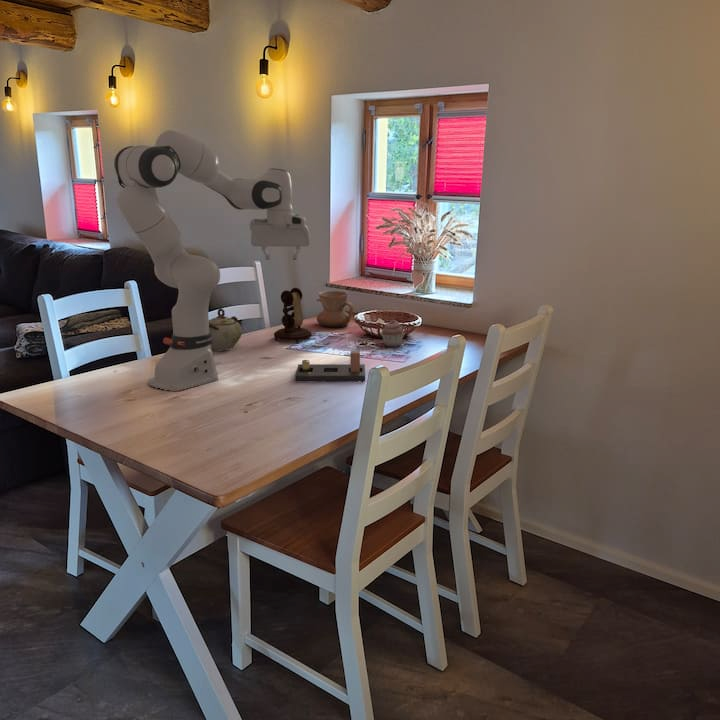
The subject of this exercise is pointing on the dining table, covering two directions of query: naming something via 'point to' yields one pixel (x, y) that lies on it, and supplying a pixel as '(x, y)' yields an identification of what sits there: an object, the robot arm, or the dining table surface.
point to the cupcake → (392, 334)
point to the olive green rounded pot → (224, 331)
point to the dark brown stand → (292, 317)
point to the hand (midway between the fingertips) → (281, 259)
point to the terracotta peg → (355, 361)
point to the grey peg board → (328, 372)
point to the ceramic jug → (334, 309)
